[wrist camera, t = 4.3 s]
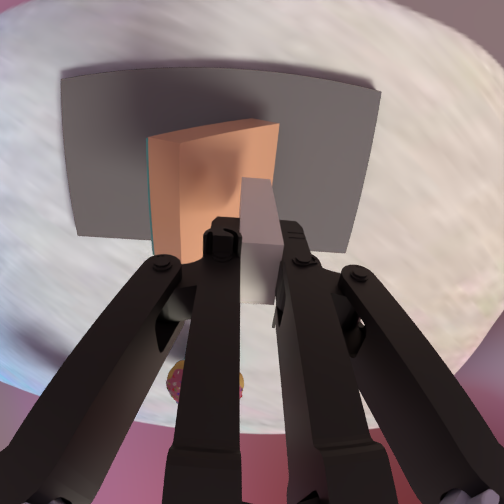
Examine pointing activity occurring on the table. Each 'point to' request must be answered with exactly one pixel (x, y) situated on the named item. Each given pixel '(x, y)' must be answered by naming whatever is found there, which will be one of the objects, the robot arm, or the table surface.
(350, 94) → the mat
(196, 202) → the tile
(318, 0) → the table surface
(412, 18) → the table surface
